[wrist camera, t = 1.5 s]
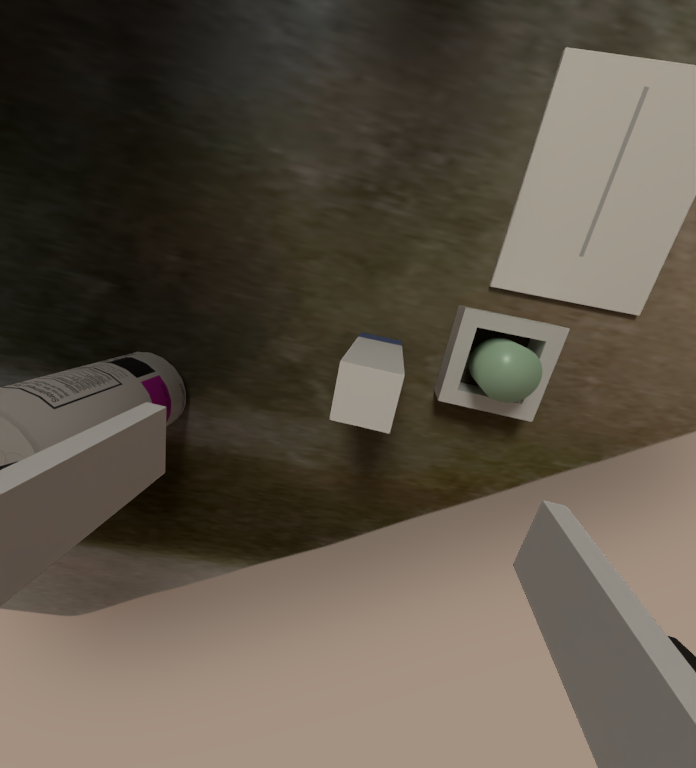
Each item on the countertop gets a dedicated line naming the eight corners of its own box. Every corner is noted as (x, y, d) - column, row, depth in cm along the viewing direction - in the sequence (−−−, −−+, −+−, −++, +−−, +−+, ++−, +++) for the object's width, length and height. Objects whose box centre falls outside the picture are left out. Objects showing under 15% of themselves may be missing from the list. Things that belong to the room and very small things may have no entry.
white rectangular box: (361, 332, 30) (340, 361, 19) (401, 340, 30) (404, 375, 19) (353, 370, 32) (329, 419, 20) (391, 379, 31) (389, 433, 20)
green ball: (477, 332, 27) (490, 339, 24) (531, 343, 27) (551, 352, 23) (462, 381, 29) (471, 395, 25) (512, 392, 28) (529, 408, 25)
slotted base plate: (563, 51, 23) (566, 46, 22) (746, 76, 22) (753, 72, 21) (489, 286, 28) (490, 286, 27) (635, 315, 27) (639, 315, 26)
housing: (458, 305, 28) (465, 307, 26) (552, 324, 28) (569, 328, 25) (434, 390, 31) (438, 400, 28) (519, 409, 30) (532, 422, 28)
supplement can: (205, 395, 35) (72, 472, 20) (158, 435, 37) (10, 530, 23) (151, 334, 33) (-30, 371, 19) (106, 380, 36) (-84, 443, 22)
